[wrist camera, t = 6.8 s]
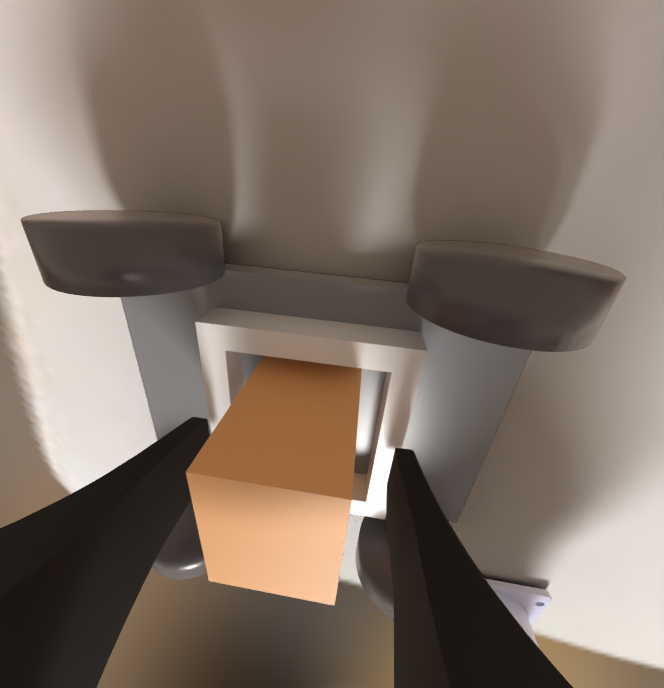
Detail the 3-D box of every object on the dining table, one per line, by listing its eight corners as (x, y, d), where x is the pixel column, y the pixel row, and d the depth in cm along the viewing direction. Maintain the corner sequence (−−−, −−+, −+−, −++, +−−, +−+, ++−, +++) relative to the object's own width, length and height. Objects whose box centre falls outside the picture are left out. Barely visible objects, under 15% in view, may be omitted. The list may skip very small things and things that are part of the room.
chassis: (444, 523, 17) (467, 637, 13) (181, 479, 19) (121, 568, 14) (556, 249, 10) (690, 294, 6) (118, 207, 12) (-40, 218, 7)
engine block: (349, 453, 15) (334, 605, 9) (268, 441, 15) (209, 580, 10) (362, 365, 12) (351, 499, 7) (265, 352, 13) (185, 472, 7)
